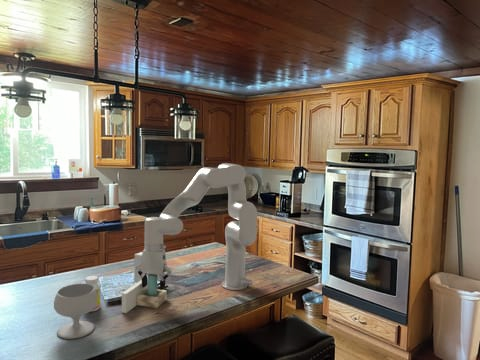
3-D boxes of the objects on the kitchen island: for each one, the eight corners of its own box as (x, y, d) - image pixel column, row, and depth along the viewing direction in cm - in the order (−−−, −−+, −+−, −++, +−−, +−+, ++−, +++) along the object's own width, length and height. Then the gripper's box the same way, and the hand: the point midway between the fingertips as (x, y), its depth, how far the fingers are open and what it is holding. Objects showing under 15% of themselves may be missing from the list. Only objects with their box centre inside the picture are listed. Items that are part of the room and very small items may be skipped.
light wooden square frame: (166, 299, 153) (166, 290, 153) (156, 308, 144) (156, 298, 144) (147, 296, 155) (148, 287, 155) (137, 304, 146) (137, 295, 146)
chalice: (104, 322, 132) (104, 283, 130) (85, 342, 118) (85, 299, 116) (68, 319, 133) (67, 281, 131) (45, 339, 119) (44, 297, 117)
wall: (153, 291, 161) (153, 274, 160) (126, 313, 139) (126, 293, 139) (149, 291, 161) (149, 274, 160) (121, 312, 140) (121, 293, 139)
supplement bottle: (79, 312, 139) (79, 280, 137) (85, 304, 145) (85, 274, 144) (97, 312, 139) (97, 281, 138) (102, 305, 146) (102, 274, 144)
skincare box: (142, 287, 165) (143, 256, 164) (133, 284, 168) (133, 253, 167) (155, 281, 173) (155, 251, 171) (146, 278, 176) (146, 249, 174)
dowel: (158, 301, 151) (159, 274, 150) (154, 305, 147) (154, 277, 146) (150, 299, 152) (150, 272, 151) (145, 303, 148) (145, 276, 147)
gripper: (176, 246, 149) (176, 286, 151) (139, 242, 153) (139, 281, 155) (168, 251, 142) (168, 293, 143) (130, 247, 146) (130, 288, 147)
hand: (153, 287), depth 149 cm, fingers open, 7 cm apart
